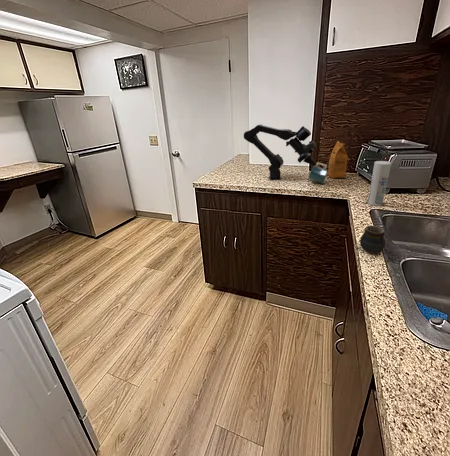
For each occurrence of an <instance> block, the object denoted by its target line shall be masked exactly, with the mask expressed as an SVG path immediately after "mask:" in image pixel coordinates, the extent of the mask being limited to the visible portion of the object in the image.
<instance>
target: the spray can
mask: <svg viewBox="0 0 450 456" xmlns="http://www.w3.org/2000/svg"><path fill="white" fill-rule="evenodd" d="M391 168H392V161H391V162H390V161H386V160H376V161H374V163H373V169H372V175H371V180H370V181H371V182H370V187H369V193H368V199H367V204H368V205H370V206H375V207H380V206H382V205H383V204H384V199H385V194H386V190H387V185H388V183H389V182H388V181H389V177H390V172H391Z"/></svg>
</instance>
